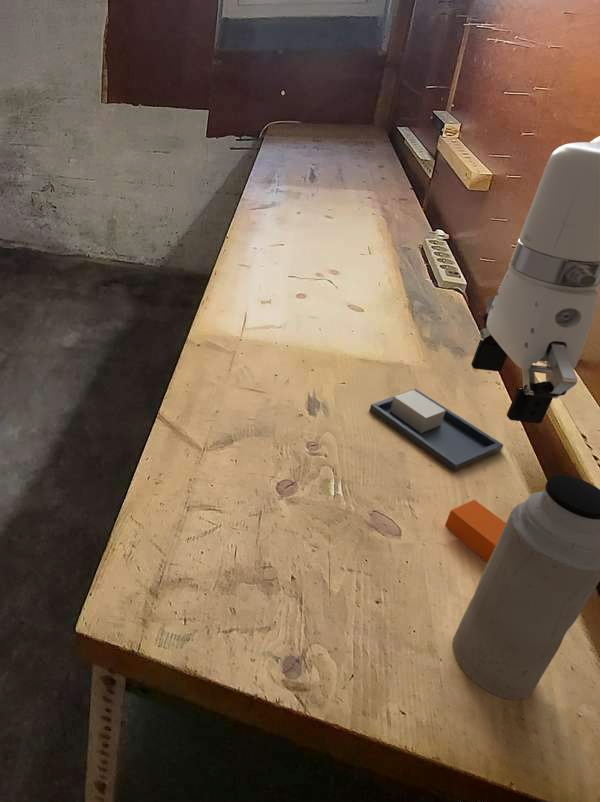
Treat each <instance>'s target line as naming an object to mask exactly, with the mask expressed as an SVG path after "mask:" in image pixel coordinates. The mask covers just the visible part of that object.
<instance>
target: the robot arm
mask: <svg viewBox="0 0 600 802" xmlns="http://www.w3.org/2000/svg"><path fill="white" fill-rule="evenodd" d="M599 287H600V135H599V136H597V137H595V138H593V139H592V140H591V141H581V142H579V141H578V142H570V143H566V144H563V145H561V146H558V147H557V148H556V149H555V150H553V152H552V153H551V154H550V156H549V158H548V160H547V162H546V165H545V168H544V169H543V173H542V175H541V179H540V181H539V184H538V187H537V188H536V192H535V194H534V196H533V199H532V203H531V205H530V207H529V211H528V213H527V216H526V218H525V221H524V224H523V227H522V229H521V232H520V234H519V238H518V239H517V242H516V245H515V247H514V251H513V253H512V255H511V258H510V261H509V264H508V270H507V272H506V274H505V275H504V277H503V279H502V281H501V282H500V286H499V287H498V289H497V292H496V294H495V296H489V297H488V298H487V300H486V309H485V312H486V313H485V314H484V315H483V317H482V319H483V326H484V327H483V328H482V329H481V330H480V332H479V337H480V340H479V342H478V345H477V347H476V349H475V350H476V351H475V353H474V355H473V357H472V358H473V359H472V361H471V364H470V365H471V367H472V368H473V369H474V370H481V371H482V370H483V371H490V372H491V371H492V372H501V371H502V370H503V367H504V365H505V363H506V360H507V358H508V357H509V358H510V360H511V361H512V362H513V363H514V364H515V365H516V366H517V367H518V368H520V369H521V373H522V374H521V375H522V388H519V387H518V388H517V389H516V392H515V394H514V396H513V398H512V401H511V403H510V405H509V408H508V410H507V411H506V416H507V418H508V419H509V421H513V422H514V421H515V422H522V423H530V424H541V423H542V422H543V421H544V418H545V416H546V414H547V412H548V410H549V408H550V405H551V404H552V401H553V399H558V398H559V397H560V396H565V395H566V394H567V393H568V391H569V390H570V389H572V388H573V387H575V386H576V385H577V383H578V378H577V375H576V372H575V368H576V367H577V365H578V362H579V360H580V357H581V355H582V352H583V349H584V348H585V345H586V342H587V340H588V337H589V333H590V331H591V328H592V324H593V320H594V318H595V313H596V310H597V305H598V298H599V293H598V292H597V289H598V288H599ZM538 362H544V363H546V365H544V366H543V365H535V364H538ZM535 373H537V374H538V373H539V374H545V381H540V382H536V377H535Z"/></svg>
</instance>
